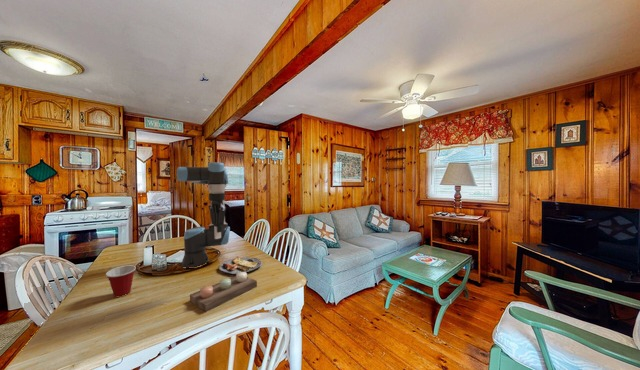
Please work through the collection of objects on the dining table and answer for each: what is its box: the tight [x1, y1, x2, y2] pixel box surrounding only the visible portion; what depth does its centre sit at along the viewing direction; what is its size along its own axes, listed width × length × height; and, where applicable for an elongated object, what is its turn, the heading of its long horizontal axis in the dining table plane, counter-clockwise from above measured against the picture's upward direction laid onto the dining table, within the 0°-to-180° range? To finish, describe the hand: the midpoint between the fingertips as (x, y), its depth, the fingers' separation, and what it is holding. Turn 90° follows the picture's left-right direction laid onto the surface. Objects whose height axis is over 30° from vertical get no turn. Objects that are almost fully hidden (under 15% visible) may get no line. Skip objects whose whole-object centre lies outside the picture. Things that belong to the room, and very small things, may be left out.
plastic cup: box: [105, 264, 137, 297], centre depth 106 cm, size 11×11×12 cm
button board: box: [189, 275, 258, 313], centre depth 106 cm, size 14×26×3 cm, turn 144°
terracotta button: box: [199, 285, 213, 298], centre depth 99 cm, size 5×5×3 cm
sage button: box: [219, 277, 231, 290], centre depth 106 cm, size 5×5×3 cm
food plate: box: [218, 256, 263, 275], centre depth 137 cm, size 25×23×4 cm
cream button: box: [235, 271, 248, 282], centre depth 113 cm, size 5×5×3 cm
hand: (217, 238), depth 114 cm, fingers closed
